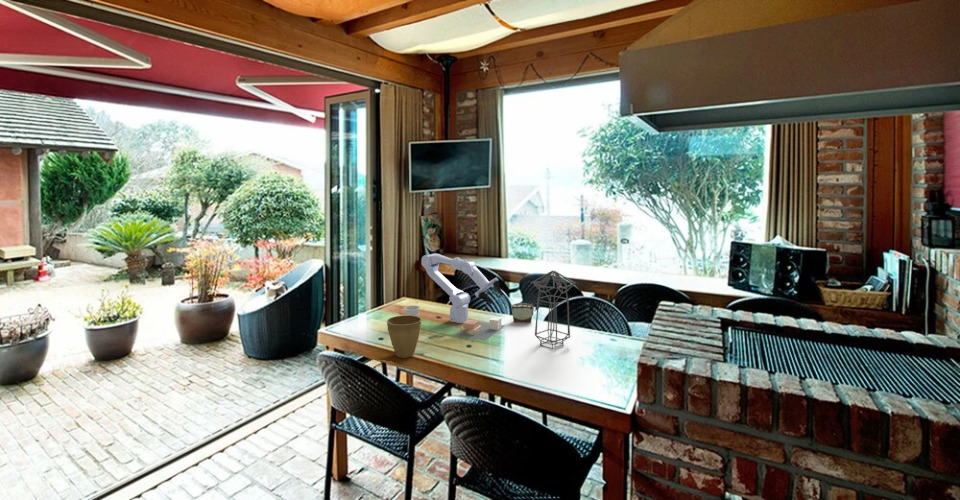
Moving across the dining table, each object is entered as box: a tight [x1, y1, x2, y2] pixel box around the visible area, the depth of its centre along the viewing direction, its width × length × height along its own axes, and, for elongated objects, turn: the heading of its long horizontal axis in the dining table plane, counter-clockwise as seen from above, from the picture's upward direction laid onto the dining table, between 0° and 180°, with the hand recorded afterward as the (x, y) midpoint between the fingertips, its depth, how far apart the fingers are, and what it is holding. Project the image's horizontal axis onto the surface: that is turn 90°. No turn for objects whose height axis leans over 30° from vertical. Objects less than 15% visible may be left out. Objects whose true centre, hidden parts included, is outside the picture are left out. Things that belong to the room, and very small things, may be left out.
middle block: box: [462, 319, 480, 329], centre depth 222 cm, size 6×6×2 cm
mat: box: [452, 321, 505, 341], centre depth 225 cm, size 18×24×1 cm
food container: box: [510, 302, 535, 324], centre depth 239 cm, size 12×6×10 cm, turn 84°
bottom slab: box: [459, 325, 482, 335], centre depth 222 cm, size 8×8×2 cm
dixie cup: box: [403, 305, 421, 317], centre depth 235 cm, size 8×8×10 cm
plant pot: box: [386, 315, 422, 359], centre depth 193 cm, size 15×15×16 cm
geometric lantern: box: [530, 270, 576, 350], centre depth 202 cm, size 16×16×35 cm
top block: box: [489, 316, 502, 331], centre depth 227 cm, size 5×5×5 cm
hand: (497, 298), depth 227 cm, fingers open, 7 cm apart
